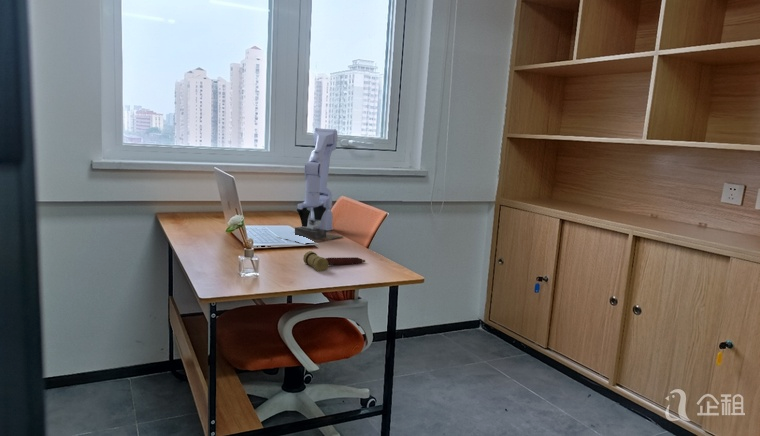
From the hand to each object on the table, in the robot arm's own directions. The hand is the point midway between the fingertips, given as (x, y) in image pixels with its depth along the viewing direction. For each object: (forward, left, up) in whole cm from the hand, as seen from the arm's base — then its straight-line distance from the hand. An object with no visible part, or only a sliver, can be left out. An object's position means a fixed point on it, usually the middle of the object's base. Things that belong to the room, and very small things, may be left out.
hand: (310, 225), depth 219 cm
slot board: (0, 0, -5) cm, 5 cm away
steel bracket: (0, 0, -4) cm, 4 cm away
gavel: (+23, +36, -6) cm, 43 cm away
